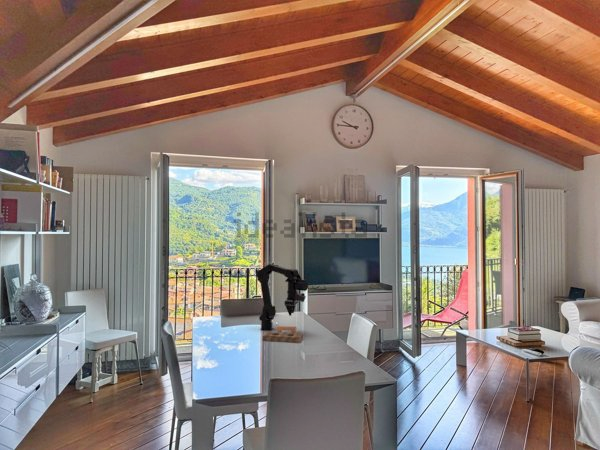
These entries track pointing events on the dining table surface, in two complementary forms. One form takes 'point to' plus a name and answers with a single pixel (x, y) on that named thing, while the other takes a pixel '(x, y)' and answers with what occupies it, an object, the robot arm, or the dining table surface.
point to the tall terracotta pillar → (286, 328)
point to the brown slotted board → (283, 337)
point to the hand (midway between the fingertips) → (291, 314)
